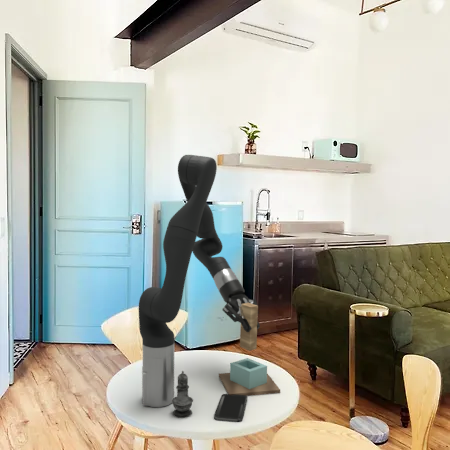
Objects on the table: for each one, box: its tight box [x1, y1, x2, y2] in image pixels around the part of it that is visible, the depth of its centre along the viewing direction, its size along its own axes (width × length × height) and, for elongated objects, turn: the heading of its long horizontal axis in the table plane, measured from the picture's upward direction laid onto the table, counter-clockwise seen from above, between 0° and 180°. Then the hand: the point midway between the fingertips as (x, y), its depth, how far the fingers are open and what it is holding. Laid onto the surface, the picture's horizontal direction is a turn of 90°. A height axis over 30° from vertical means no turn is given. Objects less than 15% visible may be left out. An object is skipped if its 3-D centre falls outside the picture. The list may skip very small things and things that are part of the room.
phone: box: [213, 393, 248, 423], centre depth 128 cm, size 8×1×15 cm
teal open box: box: [229, 357, 268, 389], centre depth 144 cm, size 8×9×6 cm
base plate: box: [218, 372, 281, 397], centre depth 145 cm, size 16×16×1 cm
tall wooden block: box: [239, 303, 259, 352], centre depth 144 cm, size 3×4×14 cm, turn 40°
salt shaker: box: [171, 370, 194, 419], centre depth 125 cm, size 6×6×12 cm
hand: (253, 329), depth 142 cm, fingers closed on tall wooden block, 3 cm apart
